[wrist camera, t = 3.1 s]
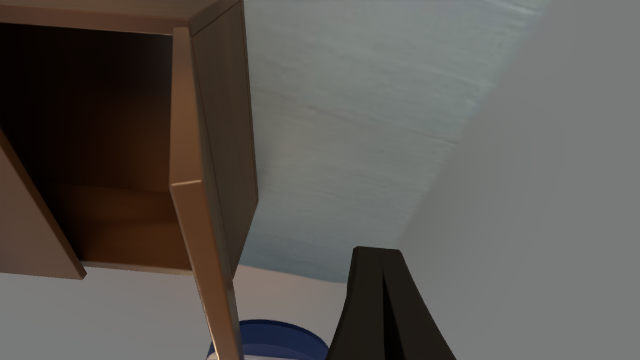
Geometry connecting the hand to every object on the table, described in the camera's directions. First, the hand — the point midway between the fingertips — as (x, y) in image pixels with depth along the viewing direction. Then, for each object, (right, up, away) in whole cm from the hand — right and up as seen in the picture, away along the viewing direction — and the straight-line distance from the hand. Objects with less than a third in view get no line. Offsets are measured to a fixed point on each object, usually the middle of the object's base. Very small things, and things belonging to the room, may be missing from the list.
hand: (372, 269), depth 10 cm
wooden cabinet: (-12, +7, +8) cm, 16 cm away
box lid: (-5, 0, 0) cm, 5 cm away
